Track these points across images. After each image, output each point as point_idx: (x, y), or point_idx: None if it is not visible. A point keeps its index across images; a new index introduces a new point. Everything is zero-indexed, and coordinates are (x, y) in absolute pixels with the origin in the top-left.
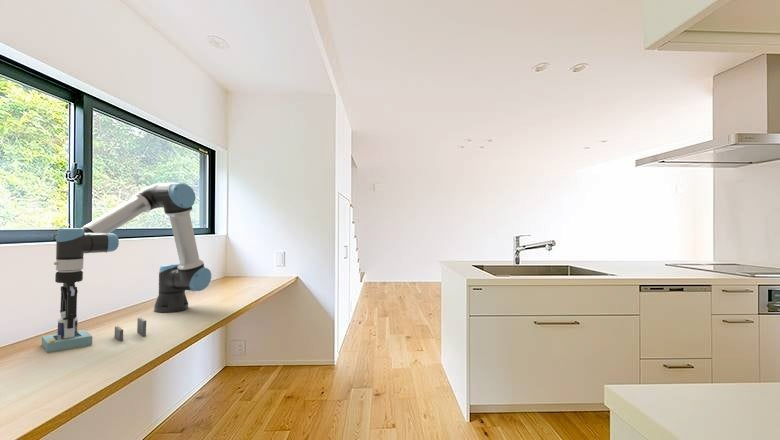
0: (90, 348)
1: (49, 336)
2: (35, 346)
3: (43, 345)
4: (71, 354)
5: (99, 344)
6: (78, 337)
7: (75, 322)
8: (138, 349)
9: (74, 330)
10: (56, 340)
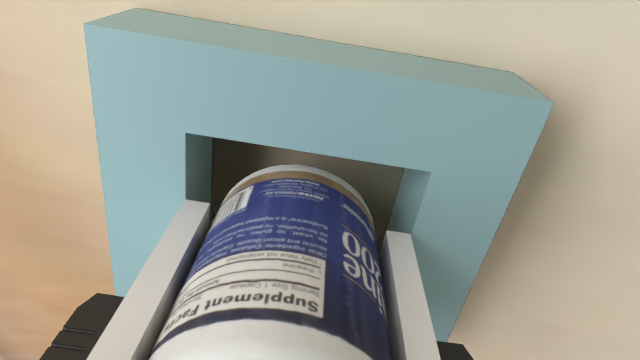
0: (636, 136)
1: None
2: None
3: None
4: (632, 272)
5: (595, 24)
6: (466, 214)
7: (380, 347)
8: None
9: (422, 286)
10: None
